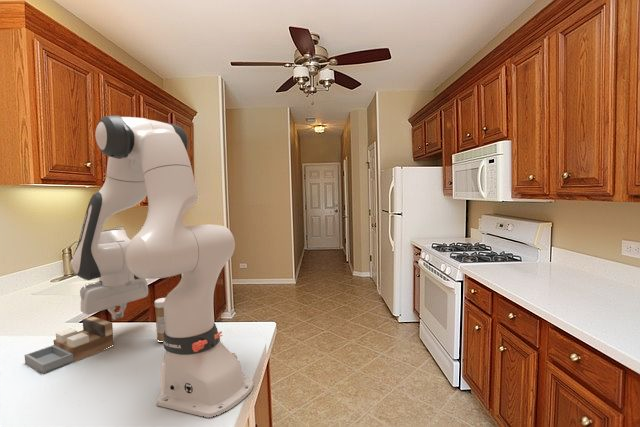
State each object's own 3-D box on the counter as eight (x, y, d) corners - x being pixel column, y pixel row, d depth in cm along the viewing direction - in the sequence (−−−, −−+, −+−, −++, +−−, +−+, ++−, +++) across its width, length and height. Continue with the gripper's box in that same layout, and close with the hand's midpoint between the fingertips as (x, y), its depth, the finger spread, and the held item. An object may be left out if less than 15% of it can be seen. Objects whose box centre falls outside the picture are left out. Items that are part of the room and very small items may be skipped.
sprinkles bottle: (160, 337, 109) (157, 297, 108) (174, 336, 109) (172, 296, 108) (154, 344, 104) (151, 302, 103) (169, 343, 105) (167, 301, 104)
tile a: (89, 341, 98) (88, 335, 98) (73, 347, 95) (73, 340, 94) (82, 339, 100) (81, 332, 100) (67, 344, 97) (66, 337, 97)
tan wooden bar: (113, 333, 103) (112, 322, 103) (102, 337, 101) (101, 326, 101) (93, 326, 109) (92, 316, 109) (83, 330, 107) (82, 319, 107)
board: (113, 346, 104) (112, 333, 103) (73, 362, 94) (72, 348, 94) (94, 338, 110) (93, 326, 110) (54, 352, 100) (53, 340, 100)
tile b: (77, 337, 102) (77, 330, 101) (62, 342, 98) (61, 335, 98) (71, 334, 104) (70, 328, 104) (56, 339, 100) (55, 333, 100)
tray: (73, 362, 94) (72, 353, 94) (43, 374, 88) (42, 365, 88) (54, 352, 100) (53, 344, 100) (25, 363, 94) (24, 355, 94)
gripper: (84, 287, 99) (88, 331, 100) (149, 271, 117) (152, 309, 118) (74, 284, 102) (78, 327, 103) (139, 269, 120) (141, 306, 121)
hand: (117, 318), depth 111 cm, fingers closed
